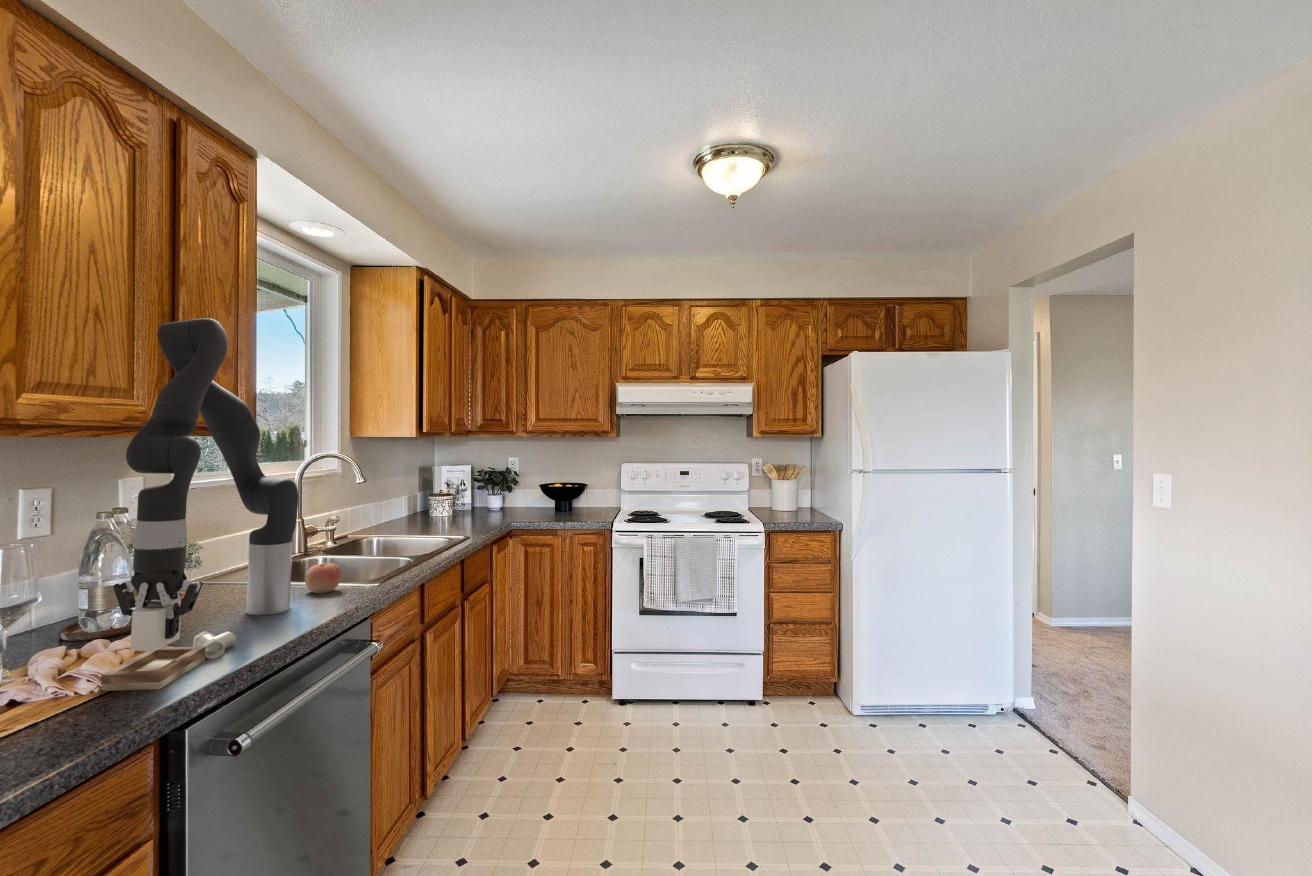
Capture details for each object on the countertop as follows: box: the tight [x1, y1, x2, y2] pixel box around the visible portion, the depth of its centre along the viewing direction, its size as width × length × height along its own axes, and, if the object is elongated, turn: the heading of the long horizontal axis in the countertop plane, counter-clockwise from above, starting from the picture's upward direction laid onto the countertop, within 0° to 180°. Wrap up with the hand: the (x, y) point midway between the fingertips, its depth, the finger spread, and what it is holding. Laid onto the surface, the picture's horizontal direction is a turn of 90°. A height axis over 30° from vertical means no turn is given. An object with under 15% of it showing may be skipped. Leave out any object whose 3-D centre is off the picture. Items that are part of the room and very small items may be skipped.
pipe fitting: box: [192, 630, 237, 660], centre depth 125 cm, size 8×4×7 cm
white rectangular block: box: [130, 600, 182, 652], centre depth 113 cm, size 4×7×8 cm, turn 9°
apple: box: [305, 562, 342, 594], centre depth 174 cm, size 9×9×8 cm
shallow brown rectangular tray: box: [100, 646, 206, 692], centre depth 113 cm, size 14×9×3 cm, turn 9°
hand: (156, 637), depth 113 cm, fingers closed on white rectangular block, 4 cm apart
